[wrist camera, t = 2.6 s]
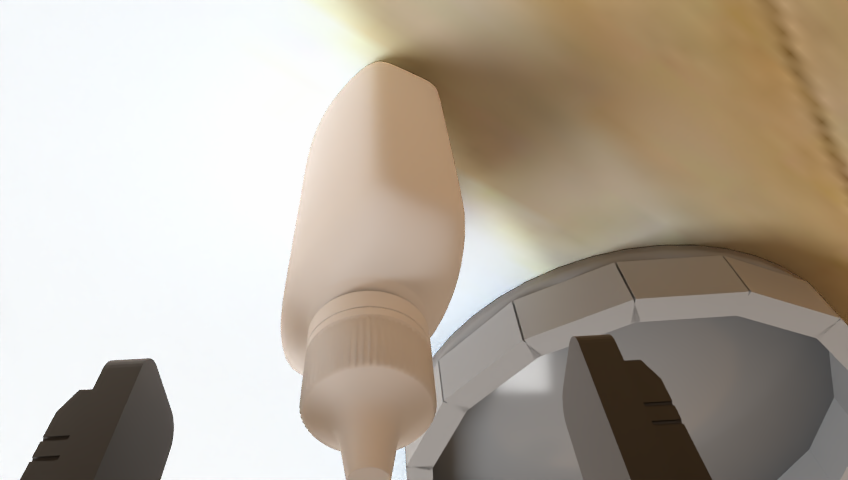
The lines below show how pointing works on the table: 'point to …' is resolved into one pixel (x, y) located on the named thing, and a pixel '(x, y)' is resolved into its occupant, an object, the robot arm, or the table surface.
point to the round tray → (663, 353)
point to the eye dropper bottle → (373, 267)
